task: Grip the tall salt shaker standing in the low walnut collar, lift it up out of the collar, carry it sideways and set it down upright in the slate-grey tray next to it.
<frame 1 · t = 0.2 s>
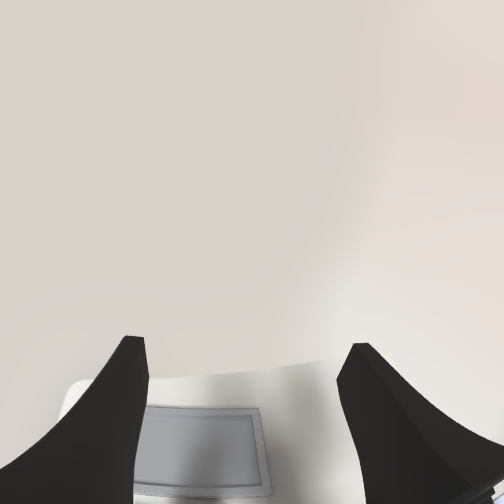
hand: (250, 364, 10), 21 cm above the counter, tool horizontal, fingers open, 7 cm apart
grey tray: (181, 453, 25), on the counter
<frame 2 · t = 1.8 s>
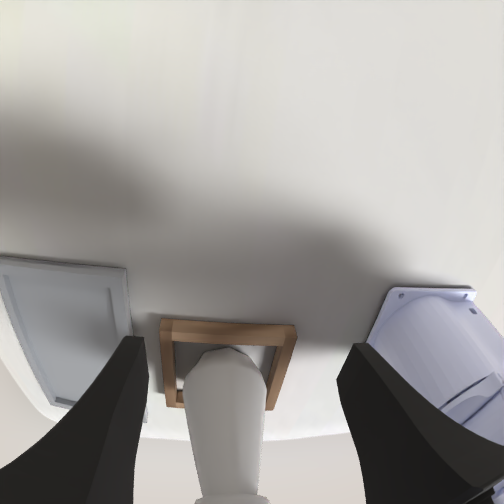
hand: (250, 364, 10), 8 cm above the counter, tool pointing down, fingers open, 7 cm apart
salt shaker: (223, 364, 23), resting in walnut collar
grey tray: (77, 350, 21), on the counter
walnut collar: (223, 366, 22), on the counter
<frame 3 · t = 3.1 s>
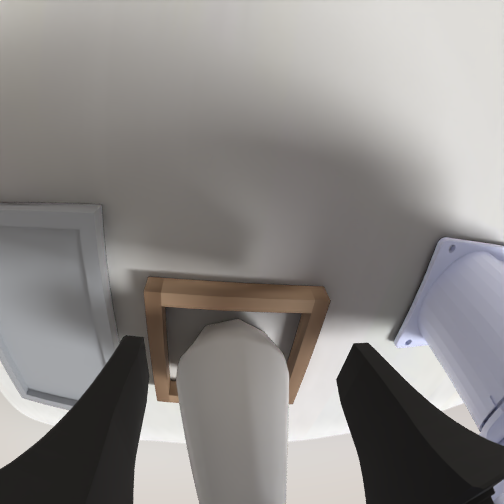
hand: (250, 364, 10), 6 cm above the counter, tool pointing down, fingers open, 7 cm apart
salt shaker: (230, 343, 18), resting in walnut collar
grey tray: (45, 326, 16), on the counter
walnut collar: (230, 346, 17), on the counter
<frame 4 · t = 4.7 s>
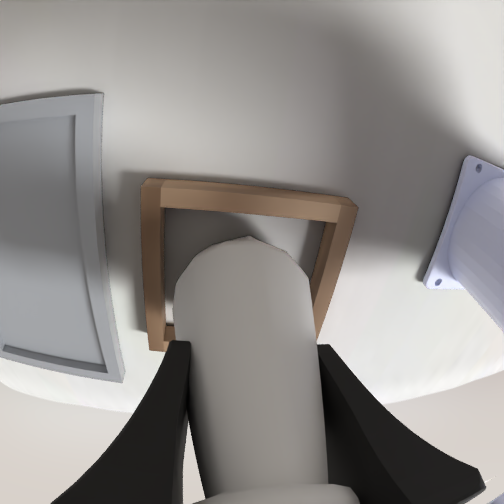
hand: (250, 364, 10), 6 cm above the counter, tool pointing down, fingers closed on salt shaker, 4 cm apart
salt shaker: (239, 272, 15), resting in walnut collar, touching gripper
grey tray: (25, 256, 13), on the counter
walnut collar: (239, 274, 15), on the counter
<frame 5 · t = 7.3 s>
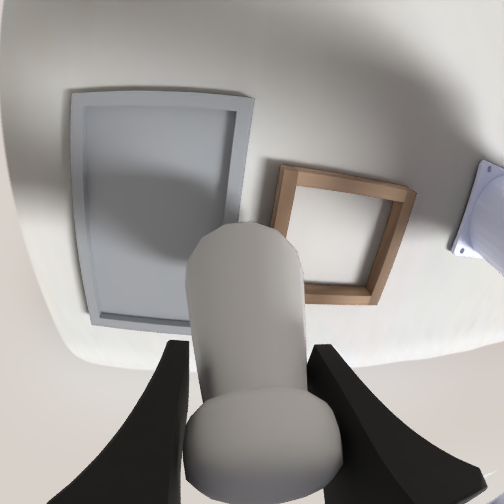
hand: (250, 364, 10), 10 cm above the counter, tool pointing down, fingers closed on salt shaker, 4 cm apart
salt shaker: (242, 255, 18), point 2 cm above the counter, touching gripper
grey tray: (154, 224, 19), on the counter
walnut collar: (334, 239, 20), on the counter
when the fingers open (7 cm above the counter, at t = 9.0 s): salt shaker stays where it is, resting on grey tray.
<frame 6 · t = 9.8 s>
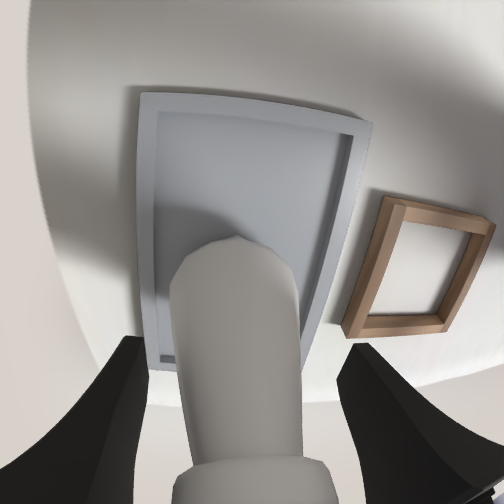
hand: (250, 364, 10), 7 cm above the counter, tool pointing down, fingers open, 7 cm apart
salt shaker: (231, 269, 16), resting on grey tray
grey tray: (237, 259, 16), on the counter
walnut collar: (419, 271, 18), on the counter
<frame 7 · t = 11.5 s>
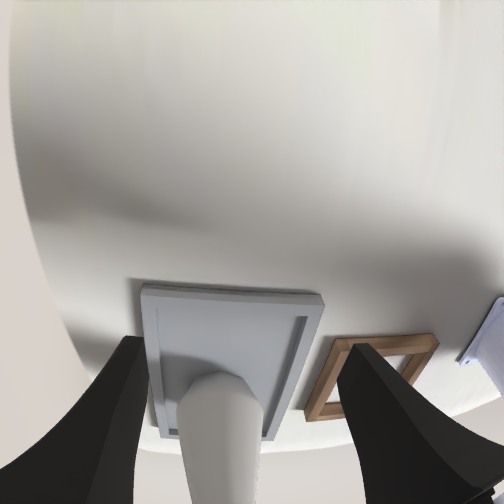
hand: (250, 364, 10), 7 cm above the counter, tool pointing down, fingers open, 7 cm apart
salt shaker: (218, 386, 21), resting on grey tray
grey tray: (223, 380, 21), on the counter
walnut collar: (368, 376, 23), on the counter
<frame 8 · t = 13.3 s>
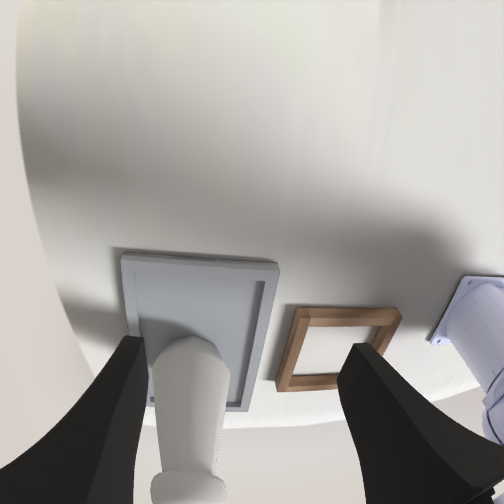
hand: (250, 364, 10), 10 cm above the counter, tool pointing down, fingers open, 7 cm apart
salt shaker: (192, 352, 24), resting on grey tray
grey tray: (196, 346, 24), on the counter
walnut collar: (334, 348, 25), on the counter
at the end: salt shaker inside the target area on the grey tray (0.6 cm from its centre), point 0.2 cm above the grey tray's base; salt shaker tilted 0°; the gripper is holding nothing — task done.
